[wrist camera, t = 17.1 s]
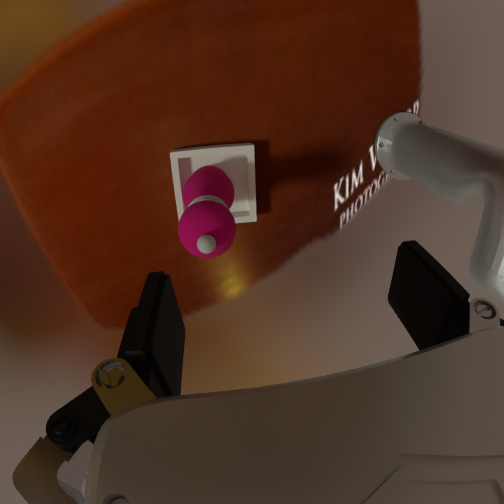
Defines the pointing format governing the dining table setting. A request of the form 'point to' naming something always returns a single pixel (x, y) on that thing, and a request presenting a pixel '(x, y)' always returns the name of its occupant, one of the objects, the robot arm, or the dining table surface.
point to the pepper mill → (207, 213)
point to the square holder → (231, 162)
